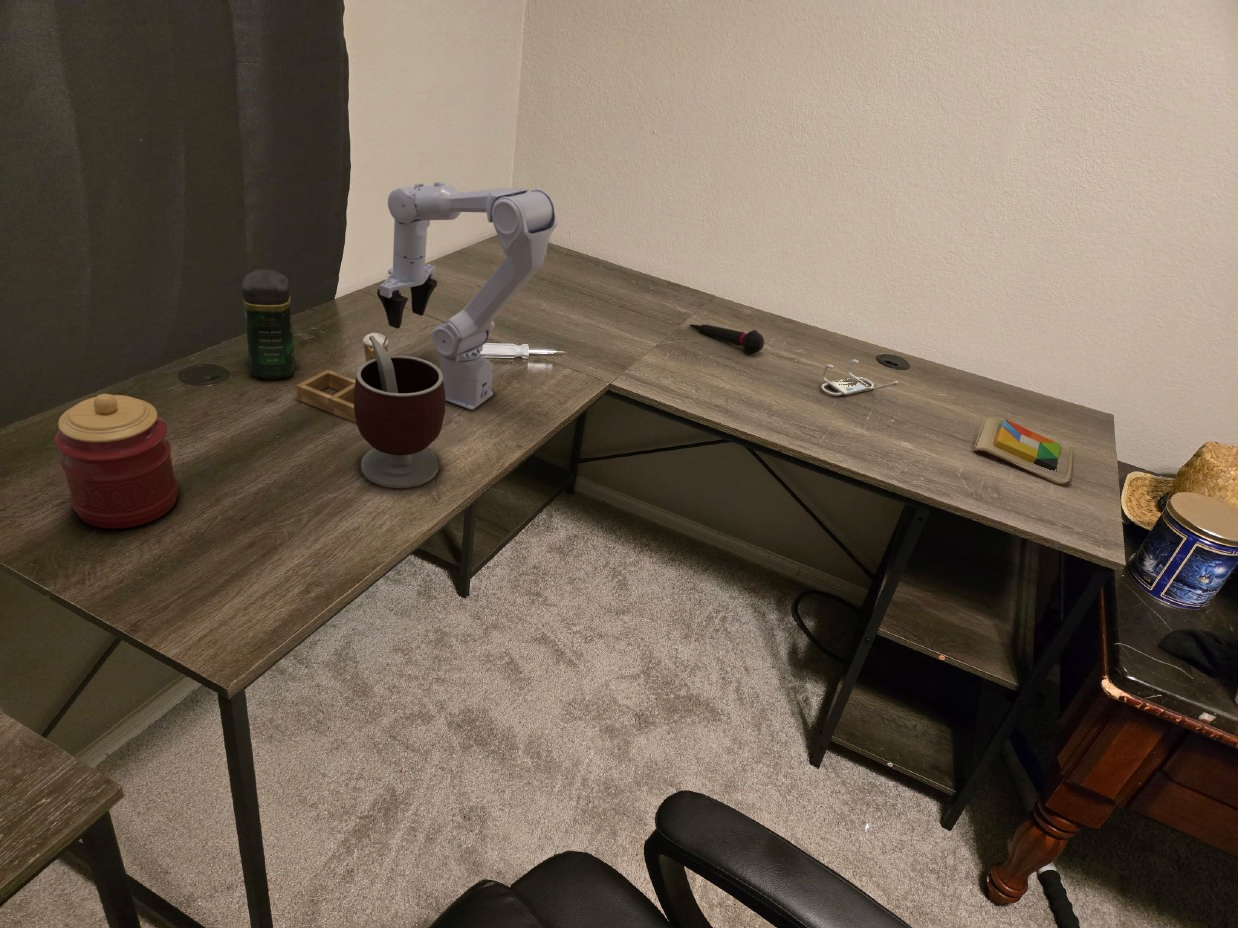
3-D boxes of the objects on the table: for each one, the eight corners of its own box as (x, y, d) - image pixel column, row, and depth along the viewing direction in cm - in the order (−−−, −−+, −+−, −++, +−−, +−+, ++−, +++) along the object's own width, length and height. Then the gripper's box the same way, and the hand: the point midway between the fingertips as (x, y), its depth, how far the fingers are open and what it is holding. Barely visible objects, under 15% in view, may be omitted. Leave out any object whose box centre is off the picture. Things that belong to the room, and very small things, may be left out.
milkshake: (377, 388, 150) (376, 340, 145) (358, 377, 153) (357, 329, 147) (396, 381, 154) (396, 334, 148) (378, 370, 156) (377, 324, 151)
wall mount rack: (855, 374, 190) (862, 353, 187) (898, 402, 181) (907, 379, 178) (809, 384, 182) (817, 361, 178) (853, 413, 173) (861, 390, 170)
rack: (394, 408, 145) (394, 394, 144) (366, 427, 139) (365, 412, 137) (327, 383, 149) (327, 369, 148) (297, 399, 143) (296, 385, 141)
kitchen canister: (194, 481, 120) (177, 378, 110) (155, 535, 109) (132, 426, 99) (103, 472, 118) (77, 366, 109) (54, 525, 107) (21, 414, 98)
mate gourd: (459, 474, 132) (465, 367, 121) (384, 501, 123) (383, 388, 112) (408, 431, 140) (409, 327, 129) (334, 453, 131) (329, 343, 120)
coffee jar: (295, 381, 148) (288, 287, 138) (249, 381, 145) (238, 286, 135) (296, 357, 155) (289, 266, 145) (251, 357, 153) (241, 264, 143)
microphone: (685, 340, 198) (757, 361, 189) (683, 321, 194) (757, 341, 185) (696, 328, 201) (768, 348, 192) (695, 309, 197) (768, 328, 188)
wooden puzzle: (1066, 488, 160) (1074, 474, 158) (971, 453, 166) (978, 439, 164) (1070, 453, 173) (1077, 439, 171) (982, 421, 179) (988, 408, 178)
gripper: (414, 236, 152) (411, 301, 160) (366, 256, 140) (365, 325, 148) (445, 248, 150) (441, 313, 158) (399, 269, 139) (396, 338, 146)
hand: (406, 320), depth 153 cm, fingers open, 7 cm apart
